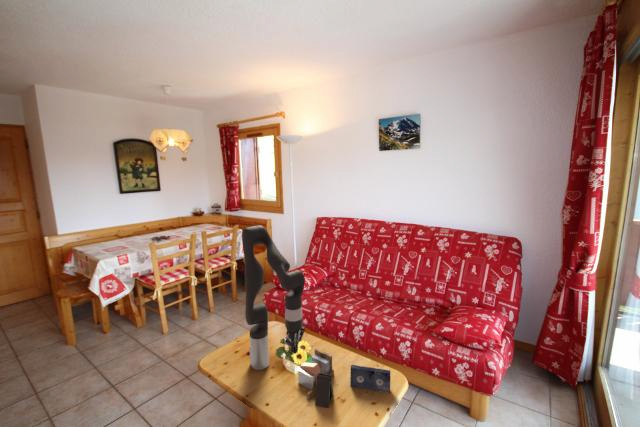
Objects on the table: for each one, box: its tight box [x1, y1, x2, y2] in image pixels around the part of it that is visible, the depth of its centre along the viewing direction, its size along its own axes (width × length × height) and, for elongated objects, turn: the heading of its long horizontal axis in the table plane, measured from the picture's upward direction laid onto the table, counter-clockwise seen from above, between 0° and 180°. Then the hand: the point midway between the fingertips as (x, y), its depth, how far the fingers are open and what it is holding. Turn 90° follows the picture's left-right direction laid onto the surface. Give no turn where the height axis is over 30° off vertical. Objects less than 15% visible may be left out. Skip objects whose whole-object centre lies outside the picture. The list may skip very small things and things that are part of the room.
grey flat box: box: [297, 367, 316, 391], centre depth 144 cm, size 9×2×7 cm, turn 54°
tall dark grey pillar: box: [306, 348, 335, 400], centre depth 146 cm, size 11×20×10 cm, turn 143°
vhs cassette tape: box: [349, 364, 391, 393], centre depth 141 cm, size 18×3×10 cm, turn 74°
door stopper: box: [314, 373, 334, 408], centre depth 135 cm, size 9×6×12 cm, turn 163°
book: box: [299, 361, 321, 384], centre depth 145 cm, size 4×9×8 cm, turn 53°
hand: (294, 352), depth 134 cm, fingers closed
